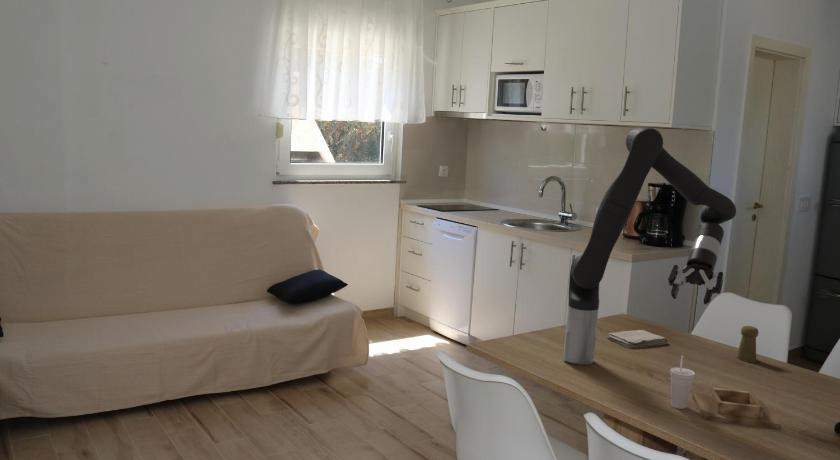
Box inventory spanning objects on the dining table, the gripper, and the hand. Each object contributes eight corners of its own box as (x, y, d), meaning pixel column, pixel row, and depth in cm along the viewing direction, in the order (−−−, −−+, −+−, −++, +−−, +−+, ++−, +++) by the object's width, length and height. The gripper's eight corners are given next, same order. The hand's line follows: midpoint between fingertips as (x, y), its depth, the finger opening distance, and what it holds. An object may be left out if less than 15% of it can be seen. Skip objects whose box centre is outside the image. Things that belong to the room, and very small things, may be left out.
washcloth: (604, 340, 252) (605, 331, 252) (642, 335, 261) (643, 326, 260) (629, 350, 242) (630, 341, 242) (667, 345, 251) (668, 336, 250)
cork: (758, 363, 235) (762, 330, 233) (738, 360, 236) (742, 328, 234) (753, 357, 241) (757, 325, 239) (734, 355, 242) (738, 323, 240)
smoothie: (662, 401, 197) (667, 351, 195) (684, 401, 198) (690, 352, 195) (672, 410, 191) (678, 359, 189) (695, 411, 191) (701, 360, 189)
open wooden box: (704, 420, 186) (706, 404, 185) (692, 397, 201) (693, 382, 201) (779, 428, 183) (781, 412, 182) (760, 404, 198) (762, 390, 198)
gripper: (677, 243, 213) (662, 288, 205) (728, 250, 205) (714, 297, 197) (680, 258, 218) (665, 302, 210) (730, 266, 210) (717, 312, 202)
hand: (689, 300), depth 204 cm, fingers open, 8 cm apart
